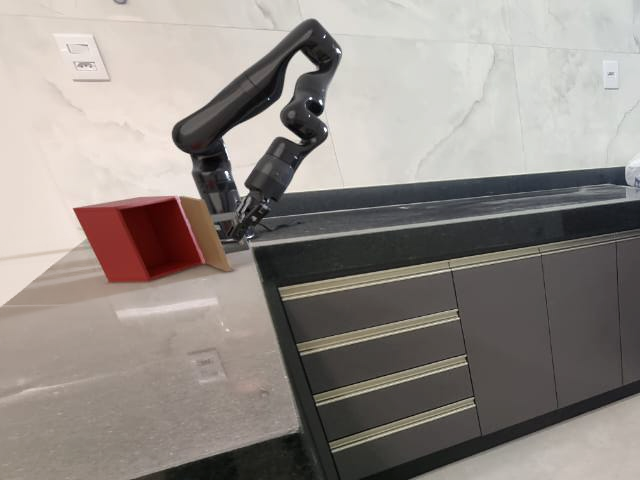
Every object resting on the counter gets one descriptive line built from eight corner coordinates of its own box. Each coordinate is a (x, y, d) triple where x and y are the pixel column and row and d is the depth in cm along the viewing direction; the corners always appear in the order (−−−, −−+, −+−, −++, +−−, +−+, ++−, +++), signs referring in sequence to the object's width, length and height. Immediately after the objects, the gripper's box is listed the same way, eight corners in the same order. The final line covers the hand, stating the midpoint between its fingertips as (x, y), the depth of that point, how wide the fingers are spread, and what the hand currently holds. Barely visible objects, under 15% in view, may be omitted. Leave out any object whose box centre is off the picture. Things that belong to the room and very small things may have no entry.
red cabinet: (205, 263, 133) (177, 195, 126) (148, 281, 119) (114, 206, 112) (169, 264, 134) (139, 196, 127) (109, 282, 120) (72, 208, 113)
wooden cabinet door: (236, 257, 138) (212, 192, 131) (259, 265, 129) (234, 196, 122) (205, 263, 133) (178, 196, 126) (226, 271, 124) (199, 200, 117)
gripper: (298, 189, 129) (261, 250, 125) (272, 187, 136) (236, 244, 132) (268, 168, 122) (227, 231, 119) (242, 167, 130) (203, 227, 126)
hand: (232, 238), depth 125 cm, fingers closed on wooden cabinet door
